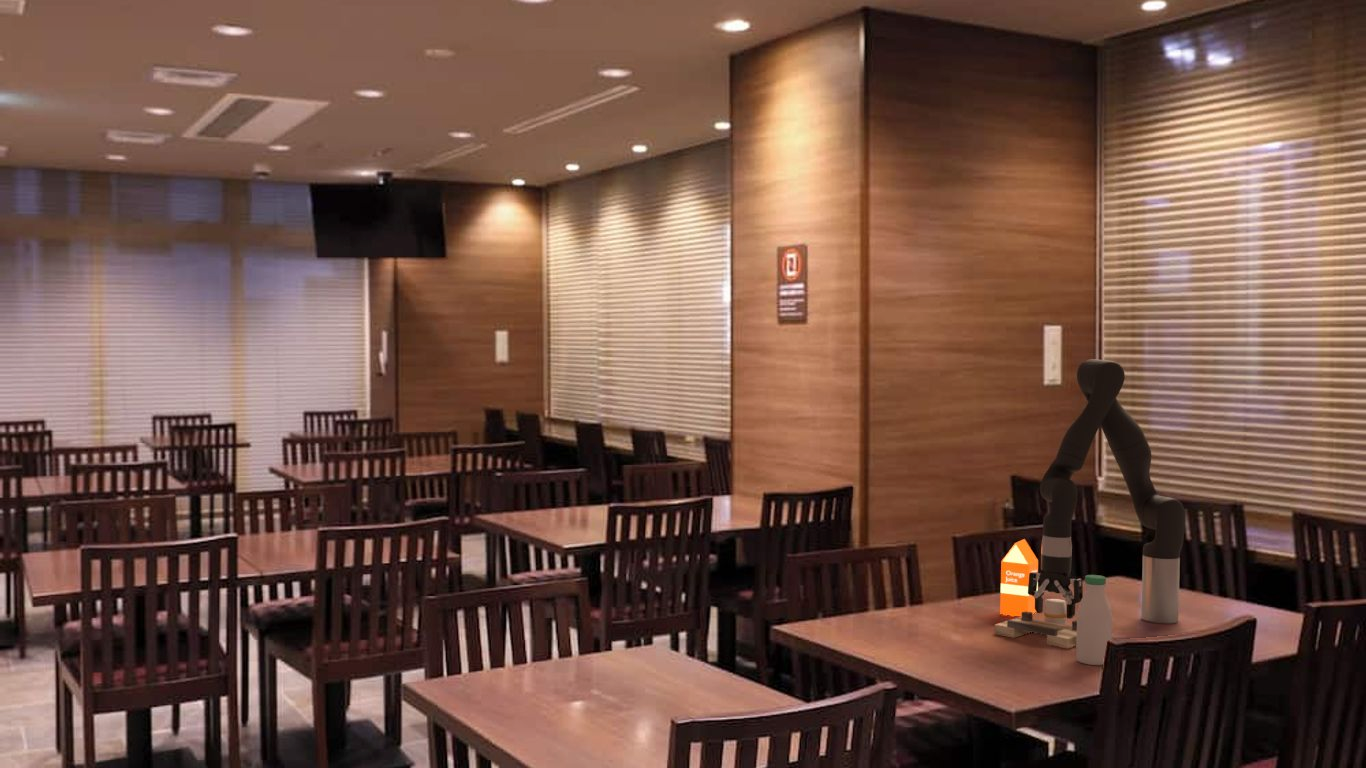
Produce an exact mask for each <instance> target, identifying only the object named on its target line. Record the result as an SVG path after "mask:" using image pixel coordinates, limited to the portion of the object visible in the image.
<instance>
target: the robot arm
mask: <svg viewBox="0 0 1366 768" xmlns="http://www.w3.org/2000/svg"><path fill="white" fill-rule="evenodd" d="M1125 378H1126V376H1125V371H1124V368H1123V366H1122V365H1121V364H1119V362H1116V361H1114V360H1108V359H1107V360H1106V359H1105V360H1104V359H1098V358H1097V359H1095V358H1091V359H1086V360H1084V361H1082V362H1081V363H1080V364H1079V366H1078V368H1077V371H1076V379H1077V384H1078V386H1079V388H1080V391H1081V392H1082V394H1083V396H1084V397H1085V399H1086V400H1087V404H1086V406H1085V407H1084V408H1083V410H1082V411H1081V413H1080V414H1079V416H1077V418H1076V419H1075V421H1074V422H1073V423H1072V424H1071V425H1070V427H1068V429H1067V431H1066V432H1065V434H1064V435H1063V438H1062V440H1061V443H1060V445H1059V448H1058V451H1057V454H1056V457H1055V458H1054V460H1053V461H1052V462H1051V464H1050V466H1049V467H1048V469H1047V470H1046V472H1045V473H1044V475H1043V477H1042V479H1041V482H1040V484H1039V485H1040V487H1039V492H1040V495H1041V497H1042V498H1043V499H1044V500H1046V501H1047V502H1049V503H1050V504H1051V505H1050V510H1049V512H1047V513H1045V514H1044V516H1043V522H1042V540H1041V549H1040V551H1041V552H1040V553H1041V555H1040V573H1039V572H1038V573H1037V572H1032V573H1030V574H1029V583H1028V594H1029V595H1032V596H1033V597H1034V598H1035V610H1036V613H1035V614H1041V613H1044V609H1043V608H1044V598H1043V596H1045V594H1046V593H1055V594H1060V595H1061V596H1062V597H1063V598H1064V599H1065V601H1066V619H1073V617H1075V616H1076V604H1080V602H1081V600H1082V598H1083V596H1084V591H1083V590H1084V587H1083V585H1084V584H1083V579H1082V578H1077V579H1076V578H1072V576H1071V571H1072V552H1073V551H1072V549H1073V544H1072V543H1073V542H1072V520H1073V517H1074V513H1075V510H1076V506H1077V503H1078V488H1077V485H1076V483H1075V482H1074V481H1073V480H1072V479H1071V478H1072V476H1073V475H1074V473H1076V472H1077V473H1078V472H1080V470H1082V468H1083V467H1084V464H1085V462H1086V459H1087V457H1088V454H1089V451H1090V448H1091V446H1092V443H1093V441H1094V439H1095V436H1096V434H1097V432H1098V430H1099V428H1101V429H1102V432H1103V435H1104V436H1105V439H1106V441H1107V443H1108V446H1109V449H1110V451H1111V452H1112V455H1113V457H1114V460H1115V462H1116V463H1117V465H1118V467H1119V469H1120V472H1121V475H1122V478H1123V479H1124V481H1125V484H1126V487H1127V489H1128V492H1129V494H1130V497H1131V501H1132V504H1133V507H1134V510H1135V513H1136V517H1137V519H1138V521H1139V522H1140V523H1141V525H1142V526H1143V527H1145V528H1147V529H1150V530H1155V533H1154V534H1155V535H1154V539H1153V540H1152V541H1150V542H1147V543H1145V544H1143V547H1142V568H1141V569H1142V572H1141V573H1142V575H1141V579H1142V580H1141V616H1140V617H1141V618H1140V619H1142V620H1144V621H1146V622H1150V623H1157V624H1175V623H1178V622H1179V607H1180V606H1179V603H1180V602H1179V601H1180V597H1179V596H1180V561H1181V558H1180V557H1181V556H1180V555H1181V550H1182V549H1183V547H1184V546H1183V545H1184V539H1185V538H1184V537H1185V526H1186V525H1185V524H1186V512H1185V511H1186V510H1185V508H1184V504H1183V503H1182V502H1181V501H1180V500H1179V499H1177V498H1174V497H1170V496H1163V495H1160V494H1158V492H1157V490H1156V488H1155V486H1154V484H1153V482H1152V481H1153V480H1152V478H1151V474H1150V471H1151V464H1152V449H1151V447H1150V444H1149V443H1148V439H1147V437H1146V435H1145V434H1144V431H1143V430H1142V428H1141V427H1140V425H1139V423H1137V421H1136V420H1135V419H1134V418H1133V417H1132V416H1131V414H1129V412H1127V410H1125V409H1124V407H1123V406H1122V404H1120V402H1119V401H1118V399H1117V397H1118V395H1119V393H1120V392H1121V390H1122V388H1123V386H1124V384H1125ZM1039 580H1040V582H1041V585H1040V586H1038V591H1037V581H1039ZM1070 586H1072V587H1073V591H1072V589H1071V588H1070Z"/></svg>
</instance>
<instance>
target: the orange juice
mask: <svg viewBox="0 0 1366 768" xmlns="http://www.w3.org/2000/svg"><path fill="white" fill-rule="evenodd" d="M1000 563H1001V564H1000V565H1001V566H1000V568H1001V569H1000V608H999V609H1000V611H999V612H1000V613H999V614H1003V615H1002V616H1007V615H1010V616H1009V617H1014V616H1021V617H1022V612H1024V611H1028V612H1033V614H1034V613H1035V612H1036V610H1035V598H1034V597H1033V596H1032V595H1029V594H1028V583H1029V574H1030V573H1032V572H1037V573H1039V559H1038V558H1037V557H1036V555H1035V553H1034V552H1033V550H1032V549H1031V546H1030V545H1029V543H1028V542H1027V540H1026V539H1025V538H1024V539H1021V540H1019V541H1017V542H1014V544H1013V545H1012V547H1011V548H1010V549H1009V551H1008V552H1007V553H1006V555H1005V556H1004V557H1003V558H1002V560H1001V562H1000ZM1038 581H1039V580H1038ZM1038 581H1037V591H1038V589H1039V582H1038ZM1035 614H1036V613H1035ZM1035 614H1034V615H1035Z"/></svg>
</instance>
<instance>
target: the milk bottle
mask: <svg viewBox="0 0 1366 768" xmlns="http://www.w3.org/2000/svg"><path fill="white" fill-rule="evenodd" d="M1106 582H1107V578H1106V577H1105V576H1103V575H1100V574H1099V575H1097V574H1088V575H1087V574H1086V575H1085V577H1084V586H1085V591H1084V592H1083V598H1082V600H1081V602H1079V603H1078V604H1079V605H1078V606H1077V614H1076V616H1077V618H1076V620H1077V638H1076V646H1075V647H1076V648H1075V651H1076V653H1075V655H1076V657H1075V658H1076V661H1077V662H1079V663H1080V664H1084V665H1090V666H1103V665H1102V663H1103V658H1104V653H1105V648H1106V643H1107V641H1108V640H1112V638H1113V636H1112V635H1113V631H1112V630H1113V622H1112V621H1113V617H1112V616H1113V615H1112V608H1111V605H1110V603H1109V600H1108V597H1107V594H1106V590H1105V587H1106Z"/></svg>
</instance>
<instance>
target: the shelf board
mask: <svg viewBox="0 0 1366 768" xmlns="http://www.w3.org/2000/svg"><path fill="white" fill-rule="evenodd" d="M1030 632H1031V633H1032V632H1034V633H1033V634H1037V633H1041V634H1040V635H1042V634H1046V635H1045V636H1046V645H1047V644H1049V645H1048V646H1052V645H1053V646H1052V647H1057V646H1058V648H1063V649H1067V648H1068V649H1070V648H1074V647H1076V638H1077V619H1076V620H1073V621H1072V622H1071V625H1068V624H1067V625H1066V624H1065V625H1063V624H1057V623H1052V622H1046V621H1045V620H1040V619H1035V618H1033V612H1028V611H1024V612H1022V617H1015V618H1013V619H1008V620H1005V621H1002V622H999V623H996V624H994V635H998V636H1003V637H1008V638H1014V639H1015V638H1018V637H1020V636H1024V634H1025V635H1027V633H1028V634H1031V633H1030ZM1073 646H1074V647H1073Z"/></svg>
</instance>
